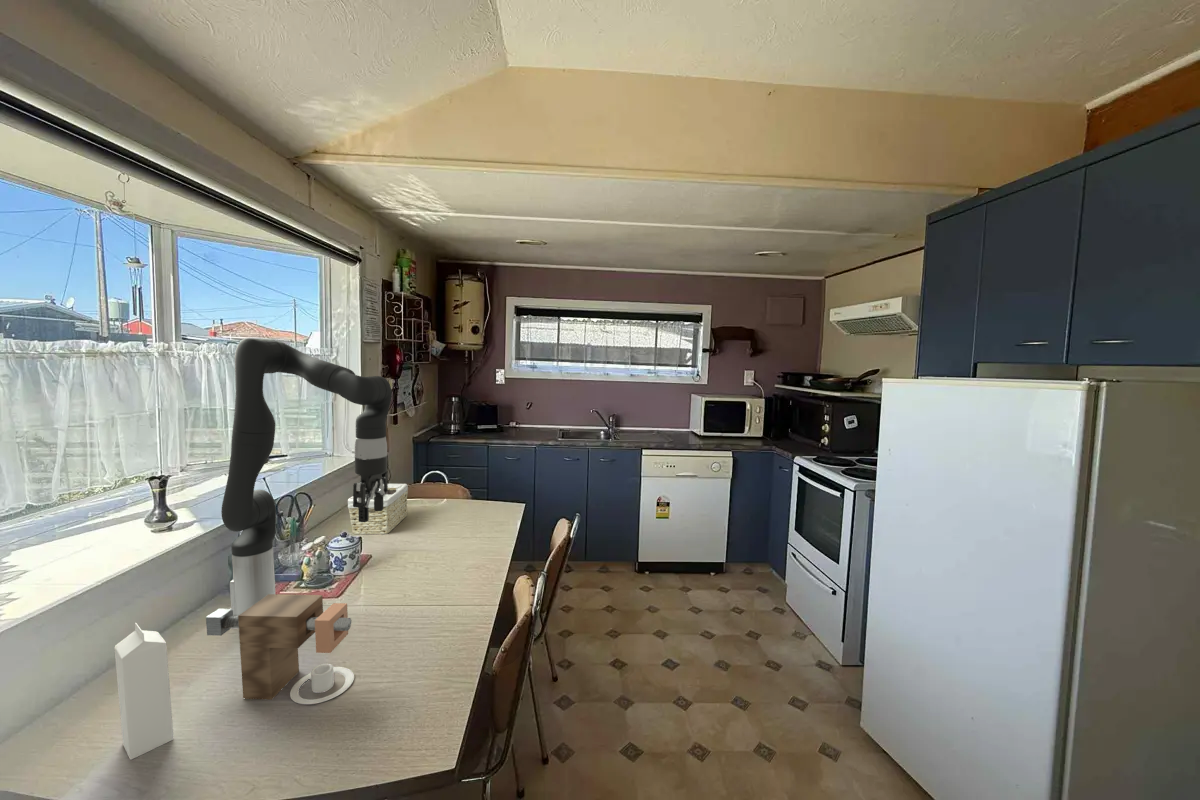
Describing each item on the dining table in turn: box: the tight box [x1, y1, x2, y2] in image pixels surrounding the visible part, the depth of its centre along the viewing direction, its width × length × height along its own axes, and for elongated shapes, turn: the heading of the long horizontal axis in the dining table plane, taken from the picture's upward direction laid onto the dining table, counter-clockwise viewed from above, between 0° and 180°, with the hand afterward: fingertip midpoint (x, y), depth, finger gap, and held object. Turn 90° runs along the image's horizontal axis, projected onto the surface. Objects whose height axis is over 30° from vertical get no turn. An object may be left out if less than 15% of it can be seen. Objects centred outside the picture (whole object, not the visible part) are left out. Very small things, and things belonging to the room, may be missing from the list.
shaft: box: [205, 608, 352, 637], centre depth 105 cm, size 29×4×4 cm, turn 89°
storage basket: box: [347, 483, 409, 535], centre depth 204 cm, size 24×16×15 cm
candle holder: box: [289, 663, 355, 705], centre depth 106 cm, size 12×12×4 cm
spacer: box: [314, 602, 349, 654], centre depth 105 cm, size 3×7×7 cm, turn 179°
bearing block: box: [238, 593, 324, 701], centre depth 105 cm, size 12×9×18 cm
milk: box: [114, 622, 174, 761], centre depth 89 cm, size 6×6×22 cm
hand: (371, 516), depth 128 cm, fingers open, 8 cm apart
